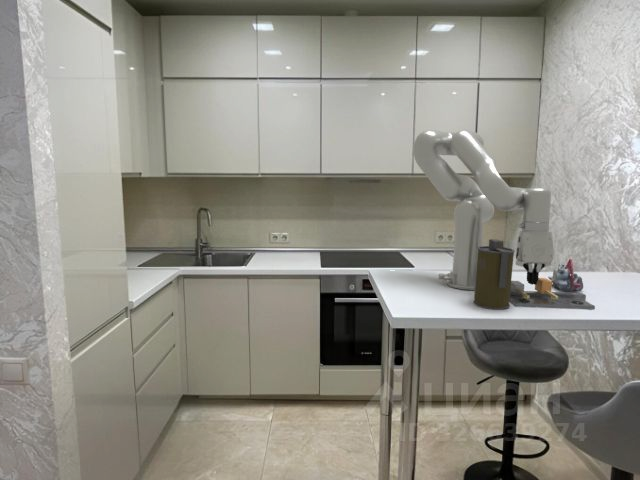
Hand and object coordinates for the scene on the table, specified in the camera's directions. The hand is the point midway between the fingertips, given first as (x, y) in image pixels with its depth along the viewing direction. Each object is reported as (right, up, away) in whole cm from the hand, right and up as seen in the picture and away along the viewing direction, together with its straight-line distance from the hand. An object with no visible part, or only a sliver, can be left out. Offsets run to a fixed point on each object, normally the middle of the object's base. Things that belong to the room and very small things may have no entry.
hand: (532, 283), depth 137 cm
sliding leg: (+4, -4, -3) cm, 6 cm away
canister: (-16, -6, -7) cm, 18 cm away
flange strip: (+3, -6, -6) cm, 9 cm away
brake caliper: (+19, -4, +14) cm, 23 cm away
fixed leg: (-5, -4, -2) cm, 7 cm away
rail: (+5, -5, +1) cm, 7 cm away
